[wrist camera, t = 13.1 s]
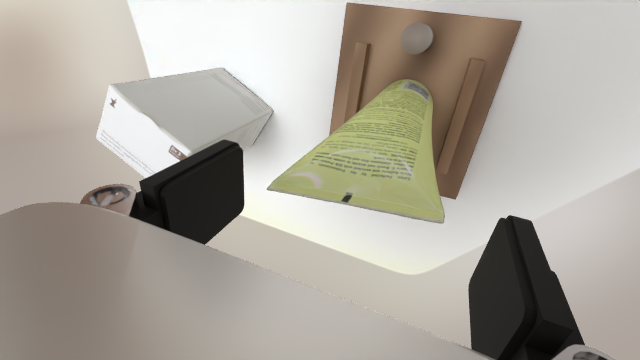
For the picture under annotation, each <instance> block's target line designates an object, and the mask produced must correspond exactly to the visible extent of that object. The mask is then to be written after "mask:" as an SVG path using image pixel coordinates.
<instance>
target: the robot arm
mask: <svg viewBox="0 0 640 360" xmlns="http://www.w3.org/2000/svg"><path fill="white" fill-rule="evenodd" d="M139 182H140V187H141V191H140V192H138V193H136V190H135V189H134V187H132V186H129V185H125V184H113V185H106V186H103V187H99V188H96V189H94V190H92V191H90V192H89V193H87V194H86V195H85V196H84V197H83V199H82V200H81V202H80V204H78V203H67V202H66V203H63V202H49V203H37V204H31V205H27V206H23V207H20V208H17V209H14V210H12V211H9V212H7V213H4V214H1V215H0V360H615V359H614V358H613V357H611V356H610V355H608V354H606V353H604V352H602V351H600V350H598V349H596V348H593V347H589V346H586V345H585V344H584V341H583V339H582V337H581V334H580V332H579V329H578V327H577V324H576V322H575V319H574V317H573V315H572V312H571V310H570V307H569V305H568V302H567V300H566V297H565V295H564V292H563V290H562V288H561V285H560V282H559V280H558V278H557V275H556V274H555V272H553V271H551V270H550V267H549V264H548V262H547V260H546V257H545V254H544V252H543V249H542V246H541V244H540V241H539V239H538V236H537V234H536V231H535V229H534V226H533V223H532V222H531V221H530V220H526V219H523V218H519V217H515V216H511V215H510V216H508V217H507V218H506V219H505V218H500V219H499V221H498V223H497V225H496V227H495V229H494V231H493V233H492V235H491V237H490V240H489V242H488V244H487V246H486V248H485V250H484V252H483V254H482V256H481V259H480V260H479V263H478V265H477V267H476V269H475V271H474V273H473V275H472V277H471V280H470V283H469V309H470V327H471V346H472V349H469V348H467V347H465V346H462V345H460V344H457V343H455V342H453V341H450V340H448V339H446V338H443V337H441V336H438V335H436V334H433V333H431V332H428V331H426V330H423V329H421V328H418V327H415V326H413V325H410V324H408V323H405V322H402V321H400V320H397V319H395V318H392V317H390V316H387V315H385V314H382V313H380V312H377V311H374V310H372V309H369V308H367V307H364V306H362V305H359V304H356V303H354V302H352V301H349V300H346V299H344V298H341V297H339V296H336V295H334V294H331V293H328V292H326V291H323V290H320V289H318V288H315V287H313V286H310V285H308V284H305V283H302V282H300V281H297V280H295V279H292V278H289V277H287V276H284V275H282V274H279V273H276V272H274V271H271V270H269V269H266V268H263V267H261V266H258V265H255V264H253V263H251V262H248V261H245V260H243V259H240V258H238V257H235V256H232V255H230V254H227V253H225V252H222V251H219V250H217V249H214V248H211V247H209V246H206V245H205V244H206V243H207V242H208V241H210V240H211V239H212V238H213V237H214V236H215V235H216V234H217V233H219V232H220V231H221V230H222V229H223V228H224V227H225V226H226V225H227V224H229V223H230V222H231V221H232V220H233V219H234V218H236V217H237V216H238V215H239V214H240V213H241V212H242V210H243V208H244V175H243V150H242V148H241V147H240V145H239V144H238V143H236V142H233V141H229V140H225V139H224V140H221V141H219V142H217V143H215V144H213V145H211V146H209V147H207V148H205V149H203V150H201V151H199V152H197V153H195V154H193V155H191V156H189V157H187V158H185V159H183V160H181V161H179V162H177V163H175V164H173V165H171V166H169V167H167V168H165V169H163V170H161V171H159V172H157V173H155V174H153V175H151V176H149V177H147V178H145V179H143V180H141V181H139Z"/></svg>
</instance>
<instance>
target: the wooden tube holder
mask: <svg viewBox="0 0 640 360" xmlns="http://www.w3.org/2000/svg"><path fill="white" fill-rule="evenodd" d="M521 22H522V21H514V20H505V19H495V18H486V17H477V16H467V15H458V14H449V13H440V12H430V11H421V10H412V9H402V8H393V7H384V6H374V5H365V4H356V3H347V4H346V12H345V20H344V27H343V35H342V43H341V50H340V58H339V66H338V73H337V81H336V89H335V96H334V104H333V112H332V119H331V127H330V134H329V136H330V135H331V134H332V133H333V132H335V131H336V130H337V129H338V128H340V127H341V126H342V125H343V124H344V123H346V122H347V121H348V120H349V119H350V118H352V117H353V116H354V115H355V114H356V113H358V112H359V111H360V110H361V109H363V108H364V107H365V106H366V105H367V104H368V103H370V102H371V101H372V100H373V99H374V98H375V97H376V96H378V95H379V94H380V93H381V92H382V91H383V90H384V89H386V88H387V87H388V86H389V85H391V84H392V83H394V82H396V81H399V80H404V79H410V80H415V81H418V82H420V83H421V84H423V85H424V86H425V87H426V88H427V89H428V90H429V92H430V93H431V96H432V99H433V113H432V150H433V161H434V169H435V176H436V181H437V186H438V191H439V195H440V196H444V197H448V198H452V199H456V197H457V195H458V192H459V189H460V187H461V184H462V181H463V179H464V176H465V173H466V170H467V168H468V165H469V162H470V160H471V157H472V154H473V152H474V149H475V146H476V144H477V141H478V138H479V135H480V133H481V130H482V127H483V125H484V122H485V119H486V117H487V114H488V111H489V109H490V106H491V103H492V100H493V98H494V95H495V92H496V90H497V87H498V84H499V82H500V79H501V76H502V74H503V71H504V68H505V65H506V63H507V60H508V57H509V55H510V52H511V49H512V47H513V44H514V41H515V39H516V36H517V33H518V30H519V28H520V25H521Z"/></svg>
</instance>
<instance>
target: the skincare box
mask: <svg viewBox="0 0 640 360" xmlns="http://www.w3.org/2000/svg"><path fill="white" fill-rule="evenodd" d="M272 113H273V110H272V109H271V108H270V107H269V106H267V105H266V104H265V103H264V102H263V101H261V100H260V99H259V98H258V97H257V96H255V95H254V94H253V93H252V92H251V91H249V90H248V89H247V88H246V87H245V86H243V85H242V84H241V83H240V82H239V81H237V80H236V79H235V78H234V77H232V76H231V75H230V74H229V73H228V72H226V71H225V70H224V69H223V68H216V69H209V70H203V71H197V72H191V73H184V74H178V75H171V76H165V77H158V78H151V79H145V80H139V81H132V82H126V83H118V84H110V85H109V87H108V92H107V96H106V101H105V104H104V109H103V114H102V118H101V121H100V125H99V128H98V131H97V136H96V139H97V140H99V141H100V142H101V143H102V144H103V145H105V146H106V147H107V148H108V149H110V150H111V151H112V152H114V153H115V154H116V155H118V156H119V157H120V158H121V159H122V160H124V161H125V162H126V163H127V164H129V165H130V166H131V167H132V168H134V169H135V170H136V171H137V172H138V173H140V174H141V175H142V176H143V177H145V178H147V177H149V176H151V175H153V174H155V173H157V172H159V171H161V170H163V169H165V168H167V167H169V166H171V165H173V164H175V163H177V162H179V161H181V160H183V159H185V158H187V157H189V156H191V155H193V154H195V153H197V152H199V151H201V150H203V149H205V148H207V147H209V146H211V145H213V144H215V143H217V142H219V141H221V140H224V139H225V140H229V141H233V142H236V143H238V144H239V145H240V147H241V148H242V150H245V149H247V148H248V147H250V146H252V145H253V143H254V141H255V140H256V138H257V137H258V135H259V133H260V132H261V130H262V129H263V127H264V125H265V124H266V122H267V121H268V119H269V118H270V116H271V114H272Z"/></svg>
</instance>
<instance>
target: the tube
mask: <svg viewBox="0 0 640 360" xmlns="http://www.w3.org/2000/svg"><path fill="white" fill-rule="evenodd" d="M432 113H433V99H432V96H431V93H430V92H429V90H428V89H427V88H426V87H425V86H424V85H423V84H421V83H420V82H418V81H415V80H410V79H404V80H399V81H396V82H394V83H392V84H391V85H389V86H388V87H387V88H386V89H384V90H383V91H382V92H381V93H380V94H379V95H378V96H376V97H375V98H374V99H373V100H372V101H371V102H370V103H368V104H367V105H366V106H365V107H364V108H363V109H361V110H360V111H359V112H358V113H356V114H355V115H354V116H353V117H352V118H350V119H349V120H348V121H347V122H346V123H344V124H343V125H342V126H341V127H340V128H338V129H337V130H336V131H335V132H333V133H332V134H331V135H330V136H329V137H327V138H326V139H325V140H324V141H322V142H321V143H320V144H319V145H317V146H316V147H315V148H314V149H313V150H311V151H310V152H309V153H307V154H306V155H305V156H304V157H302V158H301V159H300V160H298V161H297V162H296V163H295V164H294V165H292V166H291V167H290V168H289V169H287V170H286V171H285V172H284V173H283V174H281V175H280V176H279V177H278V178H276V179H275V180H274V181H273V182H272V183H271V184H270V186H269V187H268V188H267V190H270V191H276V192H281V193H287V194H292V195H298V196H303V197H307V198H313V199H318V200H323V201H329V202H335V203H340V204H345V205H350V206H355V207H360V208H364V209H369V210H374V211H380V212H385V213H389V214H394V215H399V216H403V217H408V218H413V219H419V220H424V221H429V222H435V223H441V224H442V223H444V217H445V215H444V209H443V206H442V202H441V199H440V195H439V191H438V186H437V181H436V176H435V169H434V161H433V150H432Z"/></svg>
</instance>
